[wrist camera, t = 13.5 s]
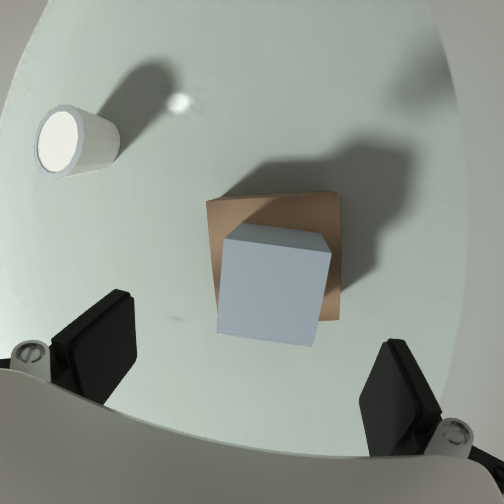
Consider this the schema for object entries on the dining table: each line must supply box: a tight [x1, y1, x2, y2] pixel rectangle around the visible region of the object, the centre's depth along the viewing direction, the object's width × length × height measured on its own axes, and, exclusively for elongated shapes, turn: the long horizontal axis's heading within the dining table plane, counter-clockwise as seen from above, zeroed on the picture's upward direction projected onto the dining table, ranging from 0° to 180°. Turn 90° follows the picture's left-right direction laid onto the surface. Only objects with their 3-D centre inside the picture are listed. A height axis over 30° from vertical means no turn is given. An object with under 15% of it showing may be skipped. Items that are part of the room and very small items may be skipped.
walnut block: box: [206, 192, 341, 321], centre depth 25 cm, size 10×10×5 cm
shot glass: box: [34, 105, 121, 180], centre depth 24 cm, size 7×7×7 cm
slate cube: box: [217, 223, 332, 347], centre depth 20 cm, size 6×6×6 cm
